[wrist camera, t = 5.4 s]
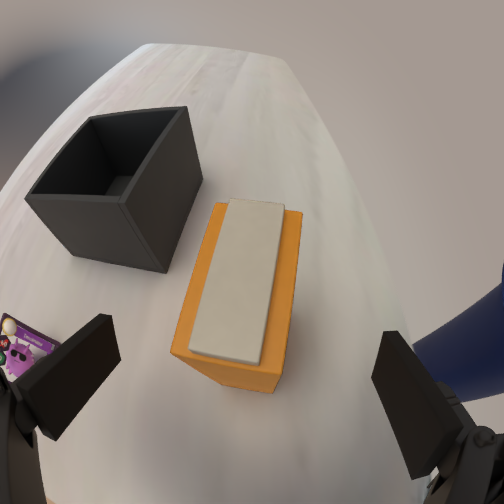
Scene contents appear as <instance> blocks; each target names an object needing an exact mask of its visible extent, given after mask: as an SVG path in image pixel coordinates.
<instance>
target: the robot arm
mask: <svg viewBox="0 0 504 504" xmlns="http://www.w3.org/2000/svg"><path fill="white" fill-rule="evenodd" d="M120 361H121V357H120V353H119V349H118V344H117V340H116V335H115V330H114V325H113V320H112V315H106V314H99V315H97V316H96V317H95V318H94V319H92V320H91V321H90V322H88V323H87V324H86V325H85V326H84V327H82V328H81V329H80V330H79V331H77V332H76V333H75V334H74V335H72V336H71V337H70V338H69V339H68V340H66V341H65V342H64V343H63V344H62V345H60V346H59V347H58V348H57V349H56V350H54V351H53V352H52V353H50V354H48V355H46V356H44V357H42V358H40V359H39V360H38V361H37V362H36V363H35V365H34V364H33V365H32V366H31V367H30V368H29V369H27V370H26V371H25V372H24V373H23V374H22V375H20V376H19V377H18V378H17V379H16V380H15V381H14V382H12V383H11V384H9V382H8V380H7V378H6V375H5V373H4V371H3V369H2V368H1V367H0V504H47V502H46V497H45V492H44V487H43V482H42V476H41V469H40V462H39V453H38V443H37V434H36V431H35V430H34V429H35V427H36V426H37V425H38V427H39V428H40V430H41V432H42V433H43V435H45V436H47V437H48V438H50V439H52V440H54V441H57V440H58V438H59V437H60V436H61V435H62V433H63V432H64V431H65V429H66V428H67V427H68V426H69V424H70V423H71V422H72V420H73V419H74V418H75V417H76V415H77V414H78V413H79V412H80V410H81V409H82V408H83V407H84V405H85V404H86V403H87V402H88V400H89V399H90V398H91V397H92V395H93V394H94V393H95V392H96V390H97V389H98V388H99V387H100V385H101V384H102V383H103V382H104V381H105V379H106V378H107V377H108V376H109V374H110V373H111V372H112V371H113V370H114V368H115V367H116V366H117V365H118V364H119V362H120ZM371 379H372V381H373V383H374V386H375V388H376V390H377V393H378V395H379V397H380V400H381V402H382V404H383V407H384V409H385V412H386V414H387V417H388V419H389V421H390V424H391V426H392V429H393V431H394V434H395V437H396V439H397V442H398V444H399V447H400V449H401V452H402V455H403V457H404V460H405V463H406V466H407V468H408V471H409V474H410V477H411V480H414V479H418V478H421V477H424V476H428V475H430V473H431V472H432V471H433V470H434V468H435V467H436V466H437V468H438V470H439V473H438V474H437V476H436V477H435V478H434V479H433V480H432V481H431V482H430V484H429V485H428V486H427V488H430V487H431V489H430V491H429V493H428V495H427V497H426V499H425V501H424V503H423V504H504V433H503V434H495V432H494V431H493V430H492V429H490V428H488V427H486V426H477V425H476V424H475V422H474V421H473V419H472V418H471V416H470V415H469V414H468V412H467V411H466V409H465V408H464V406H463V405H462V404H460V400H459V399H458V398H457V397H456V395H455V393H454V392H453V391H452V389H451V388H450V387H449V386H447V385H446V384H445V383H443V382H442V381H440V382H435V381H434V380H433V379H432V377H431V376H430V374H429V373H428V371H427V370H426V369H425V367H424V366H423V364H422V363H421V362H420V360H419V359H418V358H417V356H416V355H415V353H414V352H413V351H412V349H411V348H410V347H409V345H408V344H407V343H406V341H405V340H404V339H403V337H402V336H401V335H400V333H399V332H398V331H383V335H382V339H381V343H380V347H379V351H378V355H377V359H376V362H375V366H374V369H373V373H372V376H371ZM431 485H432V486H431Z"/></svg>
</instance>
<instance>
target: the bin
mask: <svg viewBox="0 0 504 504" xmlns="http://www.w3.org/2000/svg"><path fill="white" fill-rule="evenodd" d="M202 180H203V176H202V172H201V167H200V163H199V159H198V154H197V150H196V145H195V141H194V136H193V132H192V127H191V122H190V118H189V113H188V108H187V106H182V107H181V106H180V107H164V108H152V109H141V110H132V111H124V112H117V113H110V114H103V115H97V116H91V117H89V118H88V119H87V120H86V121H85V122H84V123H83V124H82V125H81V126H80V128H79V129H78V130H77V131H76V132H75V133H74V134H73V135H72V136H71V138H70V139H69V140H68V141H67V142H66V143H65V145H64V146H63V147H62V148H61V149H60V151H59V152H58V153H57V154H56V155H55V157H54V158H53V159H52V160H51V162H50V163H49V164H48V166H47V167H46V168H45V170H44V171H43V172H42V174H41V175H40V176H39V178H38V179H37V181H36V182H35V183H34V185H33V186H32V188H31V189H30V191H29V192H28V194H27V195H26V197H25V198H24V199H25V201H26V202H27V203H28V204H29V206H30V207H31V208H32V209H33V211H34V212H35V213H36V214H37V216H38V217H39V218H40V219H41V220H42V222H43V223H44V224H45V225H46V226H47V228H48V229H49V230H50V231H51V232H52V233H53V234H54V236H55V237H56V238H57V239H58V240H59V241H60V242H61V243H62V244H63V246H64V247H65V248H66V249H67V250H68V251H69V252H70V253H71V254H72V255H73V256H78V257H83V258H87V259H92V260H97V261H102V262H107V263H112V264H117V265H122V266H128V267H133V268H138V269H144V270H149V271H155V272H160V273H167V271H168V268H169V265H170V262H171V259H172V257H173V254H174V251H175V248H176V246H177V243H178V240H179V238H180V235H181V232H182V230H183V227H184V225H185V222H186V220H187V217H188V214H189V212H190V209H191V207H192V204H193V202H194V200H195V197H196V195H197V192H198V190H199V187H200V185H201V183H202Z"/></svg>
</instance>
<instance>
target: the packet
mask: <svg viewBox="0 0 504 504" xmlns="http://www.w3.org/2000/svg"><path fill="white" fill-rule="evenodd" d="M302 216H303V214H302V212H297V211H289V210H285V205H284V204H279V203H270V202H261V201H252V200H242V199H232V198H231V199H230V200H229V204H226V203H216V204H215V206H214V209H213V212H212V215H211V218H210V221H209V224H208V227H207V230H206V233H205V236H204V239H203V242H202V245H201V248H200V251H199V254H198V258H197V261H196V264H195V267H194V270H193V273H192V277H191V280H190V283H189V287H188V290H187V293H186V297H185V300H184V303H183V307H182V310H181V314H180V317H179V321H178V324H177V328H176V331H175V335H174V339H173V342H172V346H171V350H170V353H171V354H172V355H174V356H175V357H177V358H178V359H180V360H181V361H183V362H185V363H186V364H188V365H189V366H191V367H192V368H194V369H196V370H197V371H199V372H201V373H202V374H204V375H206V376H207V377H209V378H211V379H212V380H214V381H216V382H217V383H219V384H221V385H226V386H231V387H236V388H241V389H247V390H253V391H259V392H265V393H273V391H274V389H275V387H276V385H277V383H278V381H279V379H280V377H281V375H282V372H283V366H284V359H285V353H286V346H287V340H288V333H289V326H290V319H291V312H292V304H293V297H294V289H295V281H296V273H297V264H298V255H299V246H300V236H301V227H302Z"/></svg>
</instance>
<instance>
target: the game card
mask: <svg viewBox="0 0 504 504" xmlns="http://www.w3.org/2000/svg"><path fill="white" fill-rule="evenodd" d="M17 325H18V326H17ZM19 326H20V327H21V328H20V327H19ZM22 328H23V329H22ZM2 329H3V332H4V333H5V334H6V335H7V336H13V335H15V336H16V337H18V338H20V339H23V340H25V341H27V342H29V343H31V344H33V345H35V346H36V347H38V348H40V349H42V350H44V351H46V352H47V355H48V354H50V353H52V352H53V351H52V350H51V347H52V344H54V345H55V347H54V350H56V349H57V348H58V347H59V346H60V343H59V342H58V341H56V340H54V339H52V338H50V337H48V336H46V335H44V334H42V333H40V332H38V331H36V330H34V329H32V328H31V327H29V326H27V325H25V324H24V323H22V322H20V321H18V320H17V319H15V318H13V317H12V316H10V315H8V314H7V313H3V315H2V318H1V321H0V366H2V365H5V363H6V361H7V366H6V369H8V368H9V374H11V373H13V374H14V375H15V376H16V377H19V376H20V375H22V374H23V373H24V372H25V371H26V370H27V369H29V368H30V367H31V366H32V365H33V364H34V357H33V356H34V354H32V352H31V351H30V349H29V346H30V344H29V345H28V346H27V347H26V346H25V345H23V344H19V343H18V338H17V339H16V342H15V344H11V342H10V340H9V339H8V337H7V336H6V335H1V331H2ZM24 329H25V330H24ZM26 330H27V331H26ZM43 339H44V340H43ZM45 340H46V341H45ZM47 341H48V342H47ZM49 342H50V343H49ZM51 343H52V344H51ZM3 351H7V352H6V355H5V354H4V352H3ZM8 382H9V384H11V383H12V382H10V381H8Z"/></svg>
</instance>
